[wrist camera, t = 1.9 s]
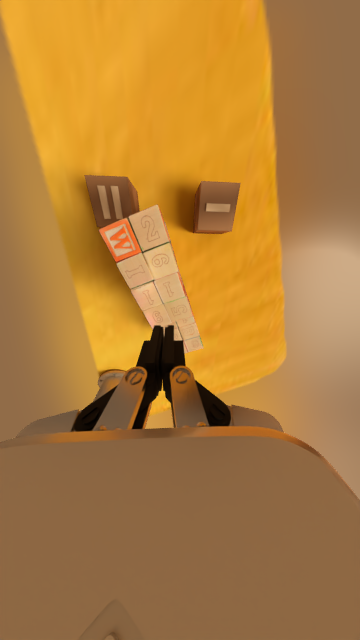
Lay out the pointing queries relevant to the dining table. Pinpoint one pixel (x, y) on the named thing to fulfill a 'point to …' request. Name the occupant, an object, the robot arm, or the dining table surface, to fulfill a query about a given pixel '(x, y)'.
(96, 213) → the walnut cube two
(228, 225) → the walnut cube one
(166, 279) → the stack of blocks
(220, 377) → the dining table surface
